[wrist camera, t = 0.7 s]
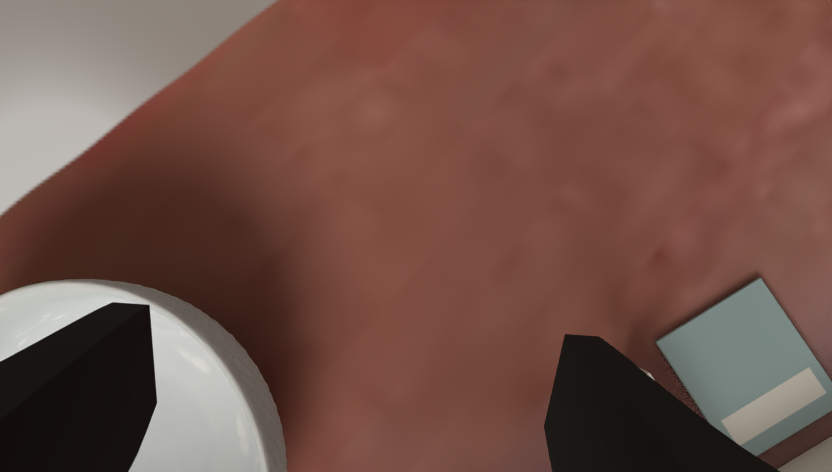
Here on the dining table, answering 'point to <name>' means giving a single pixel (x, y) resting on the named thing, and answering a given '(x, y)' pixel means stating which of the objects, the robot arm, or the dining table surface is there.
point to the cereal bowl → (169, 376)
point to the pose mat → (749, 369)
